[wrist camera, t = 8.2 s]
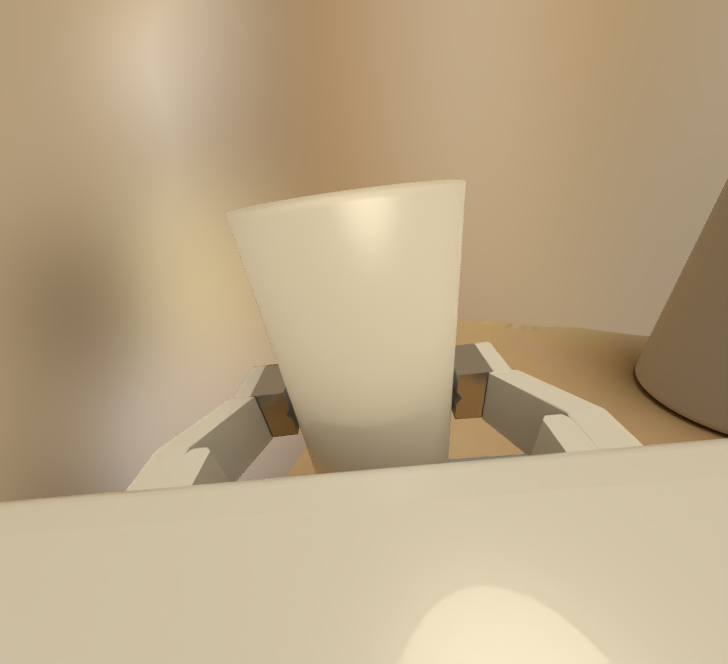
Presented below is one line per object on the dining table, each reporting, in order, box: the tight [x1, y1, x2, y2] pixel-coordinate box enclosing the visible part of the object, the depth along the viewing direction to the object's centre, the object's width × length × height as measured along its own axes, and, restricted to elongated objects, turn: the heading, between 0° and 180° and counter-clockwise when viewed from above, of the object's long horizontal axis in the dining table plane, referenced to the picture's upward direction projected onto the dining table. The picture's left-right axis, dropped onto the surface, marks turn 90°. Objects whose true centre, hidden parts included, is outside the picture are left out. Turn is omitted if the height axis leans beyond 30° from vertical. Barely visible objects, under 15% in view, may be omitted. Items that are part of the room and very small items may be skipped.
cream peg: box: [226, 180, 466, 474], centre depth 11 cm, size 8×5×14 cm, turn 1°
